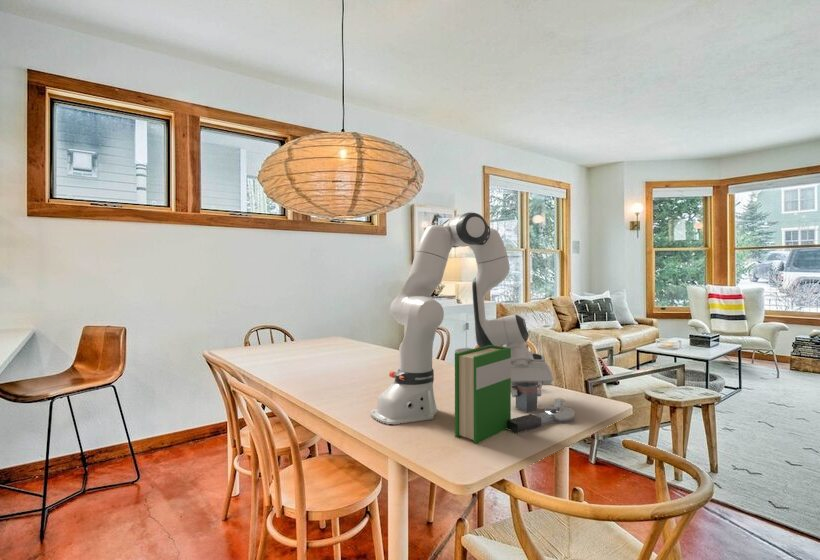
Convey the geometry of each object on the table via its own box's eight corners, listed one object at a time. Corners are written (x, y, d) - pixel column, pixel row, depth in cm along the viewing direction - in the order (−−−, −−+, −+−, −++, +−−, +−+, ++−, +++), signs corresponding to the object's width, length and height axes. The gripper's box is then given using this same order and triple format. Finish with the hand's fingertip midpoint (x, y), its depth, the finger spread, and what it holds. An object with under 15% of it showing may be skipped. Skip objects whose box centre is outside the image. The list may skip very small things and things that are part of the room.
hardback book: (476, 444, 119) (476, 357, 119) (455, 437, 125) (454, 353, 124) (510, 427, 132) (510, 348, 131) (489, 421, 137) (489, 345, 137)
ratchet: (523, 435, 125) (523, 415, 125) (501, 426, 133) (501, 406, 133) (580, 419, 138) (580, 400, 138) (557, 411, 146) (557, 393, 146)
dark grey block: (526, 412, 145) (526, 388, 145) (515, 408, 150) (515, 384, 149) (537, 409, 148) (537, 386, 148) (526, 405, 152) (526, 382, 152)
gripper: (491, 356, 155) (498, 391, 145) (548, 355, 156) (558, 390, 146) (488, 366, 159) (495, 401, 150) (544, 365, 160) (553, 399, 151)
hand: (527, 395), depth 148 cm, fingers closed on dark grey block, 7 cm apart
